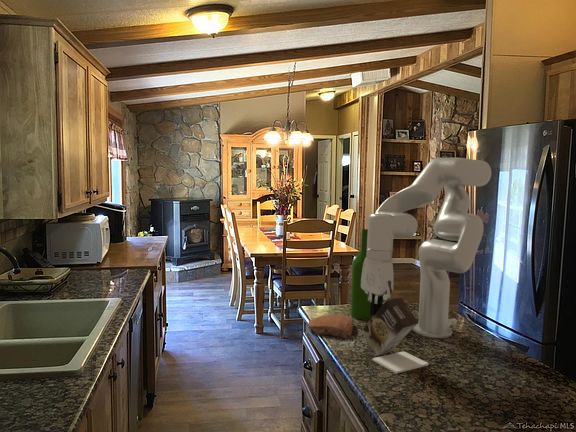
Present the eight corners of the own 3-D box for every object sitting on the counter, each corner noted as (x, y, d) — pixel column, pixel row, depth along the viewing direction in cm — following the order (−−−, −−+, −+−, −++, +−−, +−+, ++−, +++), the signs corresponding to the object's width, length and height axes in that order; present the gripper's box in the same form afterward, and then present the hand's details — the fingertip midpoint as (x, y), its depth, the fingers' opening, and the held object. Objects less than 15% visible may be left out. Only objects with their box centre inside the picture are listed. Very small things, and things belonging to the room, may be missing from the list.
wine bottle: (368, 321, 175) (372, 231, 172) (346, 316, 180) (349, 229, 177) (378, 315, 183) (382, 229, 179) (357, 311, 188) (360, 227, 184)
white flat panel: (403, 353, 146) (403, 351, 146) (428, 365, 137) (428, 363, 137) (372, 360, 140) (372, 358, 140) (396, 373, 131) (396, 371, 131)
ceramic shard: (313, 307, 174) (355, 316, 171) (310, 325, 174) (351, 334, 171) (308, 314, 160) (353, 324, 157) (304, 333, 160) (349, 344, 157)
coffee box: (360, 330, 148) (385, 300, 137) (376, 326, 151) (401, 295, 141) (376, 357, 143) (403, 327, 133) (392, 351, 146) (419, 322, 136)
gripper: (353, 251, 149) (350, 310, 150) (386, 260, 136) (382, 324, 137) (373, 250, 152) (369, 308, 154) (406, 258, 139) (402, 321, 141)
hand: (375, 315), depth 146 cm, fingers closed
